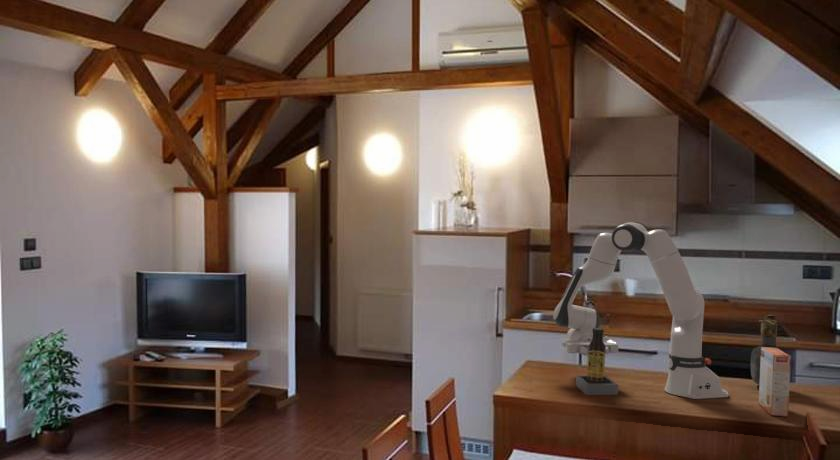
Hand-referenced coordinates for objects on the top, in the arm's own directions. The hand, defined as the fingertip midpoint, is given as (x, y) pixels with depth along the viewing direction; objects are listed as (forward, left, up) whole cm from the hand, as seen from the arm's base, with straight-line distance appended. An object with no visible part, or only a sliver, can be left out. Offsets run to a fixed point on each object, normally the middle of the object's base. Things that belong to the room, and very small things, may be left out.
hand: (597, 351), depth 256 cm
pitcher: (-68, -2, -15) cm, 70 cm away
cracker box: (-54, +26, -15) cm, 62 cm away
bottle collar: (0, 0, -15) cm, 15 cm away
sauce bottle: (0, 0, -11) cm, 11 cm away
